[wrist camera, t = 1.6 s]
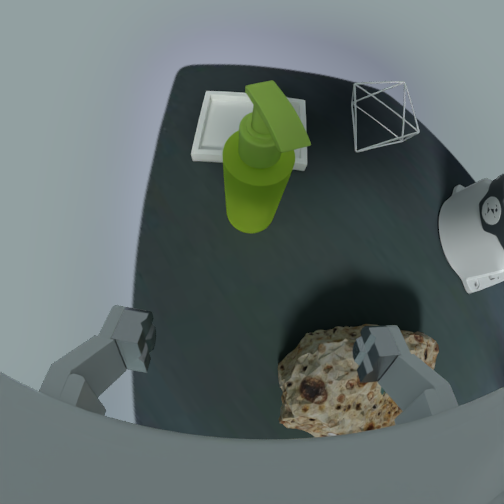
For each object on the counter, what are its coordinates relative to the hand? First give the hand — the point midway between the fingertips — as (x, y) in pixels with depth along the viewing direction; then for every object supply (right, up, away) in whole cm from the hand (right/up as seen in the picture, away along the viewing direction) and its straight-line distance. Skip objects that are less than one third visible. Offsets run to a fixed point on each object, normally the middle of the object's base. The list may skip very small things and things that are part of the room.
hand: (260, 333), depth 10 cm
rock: (+12, -13, +20) cm, 27 cm away
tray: (0, +20, +27) cm, 33 cm away
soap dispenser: (0, +8, +24) cm, 25 cm away
